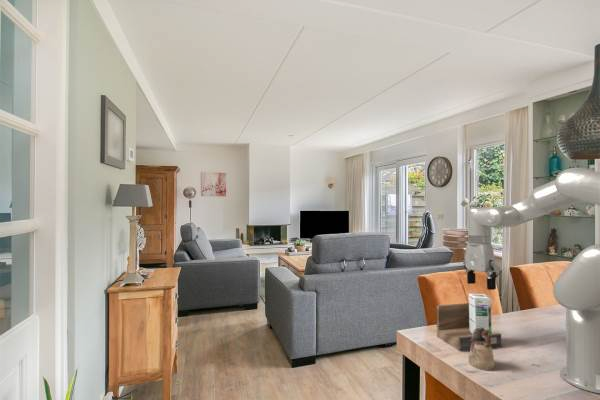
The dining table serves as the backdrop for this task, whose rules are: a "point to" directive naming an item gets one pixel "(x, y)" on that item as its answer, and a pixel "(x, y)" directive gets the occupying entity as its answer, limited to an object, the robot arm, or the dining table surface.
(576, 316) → the robot arm
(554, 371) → the dining table surface
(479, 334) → the figurine
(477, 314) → the syrup box
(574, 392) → the dining table surface
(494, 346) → the shelf
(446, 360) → the dining table surface
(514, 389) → the dining table surface
